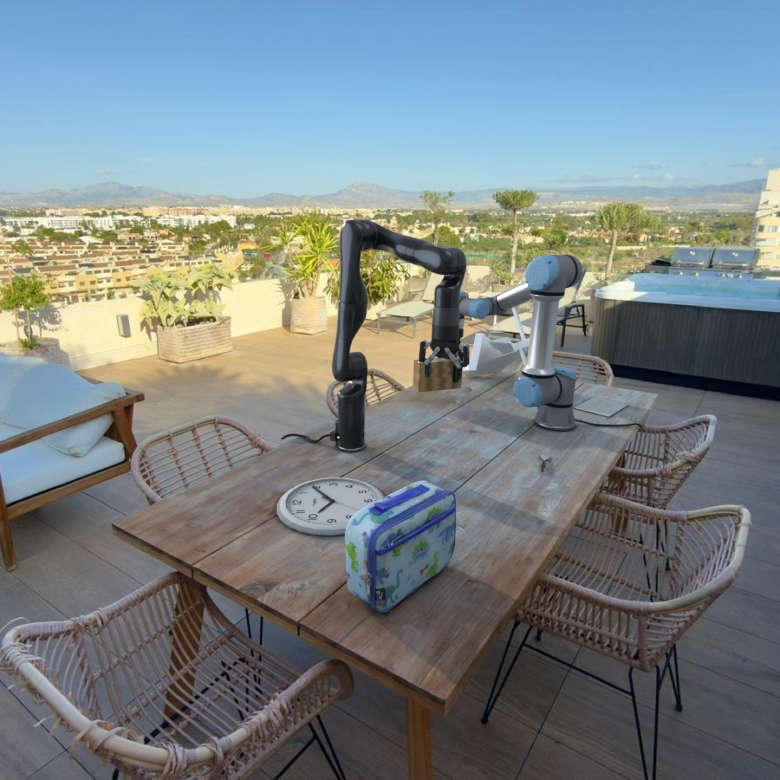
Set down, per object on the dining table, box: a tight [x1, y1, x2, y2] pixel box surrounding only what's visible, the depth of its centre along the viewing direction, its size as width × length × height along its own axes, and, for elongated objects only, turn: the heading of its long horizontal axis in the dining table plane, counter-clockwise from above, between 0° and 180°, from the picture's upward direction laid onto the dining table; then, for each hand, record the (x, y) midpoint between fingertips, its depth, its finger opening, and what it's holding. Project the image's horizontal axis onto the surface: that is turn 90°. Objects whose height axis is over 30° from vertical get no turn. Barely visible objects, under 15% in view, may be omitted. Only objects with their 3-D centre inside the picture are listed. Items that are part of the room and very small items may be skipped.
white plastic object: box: [462, 307, 530, 377], centre depth 260 cm, size 37×45×31 cm
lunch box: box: [344, 480, 457, 614], centre depth 109 cm, size 26×11×21 cm, turn 135°
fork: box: [540, 448, 551, 473], centre depth 170 cm, size 3×16×2 cm, turn 160°
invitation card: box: [573, 396, 629, 418], centre depth 226 cm, size 21×1×15 cm
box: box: [412, 357, 463, 393], centre depth 226 cm, size 20×6×13 cm, turn 111°
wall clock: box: [276, 476, 386, 537], centre depth 142 cm, size 30×2×30 cm
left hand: (442, 378), depth 149 cm, fingers open, 8 cm apart
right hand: (451, 379), depth 229 cm, fingers closed on box, 6 cm apart
